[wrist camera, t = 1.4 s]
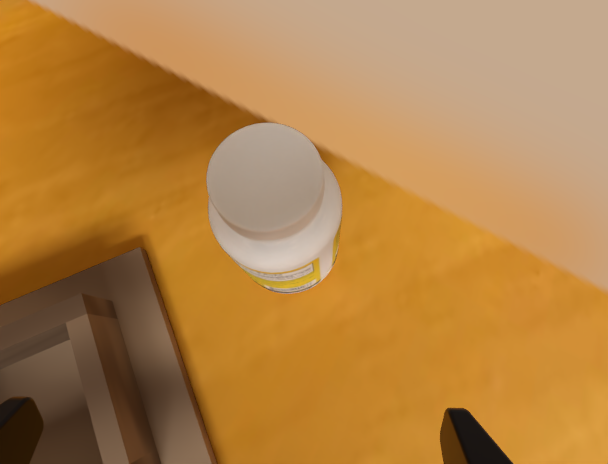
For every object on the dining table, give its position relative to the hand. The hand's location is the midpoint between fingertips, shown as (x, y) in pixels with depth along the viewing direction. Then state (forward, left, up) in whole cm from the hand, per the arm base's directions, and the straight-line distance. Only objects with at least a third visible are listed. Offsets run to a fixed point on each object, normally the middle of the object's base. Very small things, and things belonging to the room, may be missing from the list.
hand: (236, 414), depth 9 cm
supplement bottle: (+6, -3, -13) cm, 15 cm away
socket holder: (+3, +11, -13) cm, 17 cm away
